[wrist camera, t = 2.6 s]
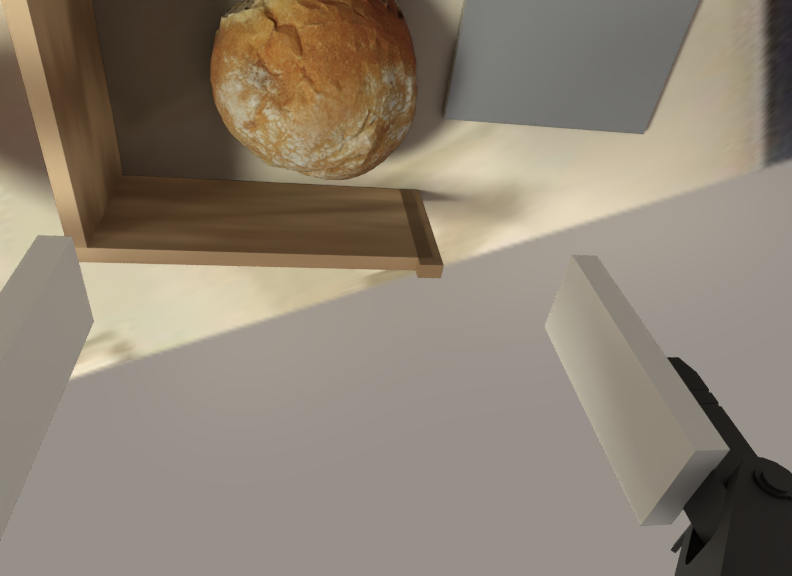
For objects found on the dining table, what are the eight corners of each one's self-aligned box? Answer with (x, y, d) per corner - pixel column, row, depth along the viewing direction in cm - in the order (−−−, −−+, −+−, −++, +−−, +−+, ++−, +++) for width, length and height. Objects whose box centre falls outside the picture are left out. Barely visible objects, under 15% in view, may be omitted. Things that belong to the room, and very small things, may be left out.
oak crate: (43, -152, 23) (-47, -142, 17) (467, -90, 26) (517, -64, 20) (110, 187, 32) (67, 269, 26) (417, 201, 35) (440, 278, 29)
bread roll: (221, 86, 33) (205, 203, 29) (213, -96, 24) (189, 40, 20) (390, 111, 35) (394, 222, 31) (440, -48, 26) (454, 83, 23)
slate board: (493, -158, 24) (496, -157, 24) (740, -116, 27) (746, -115, 26) (442, 115, 32) (444, 119, 31) (639, 130, 34) (643, 133, 33)
